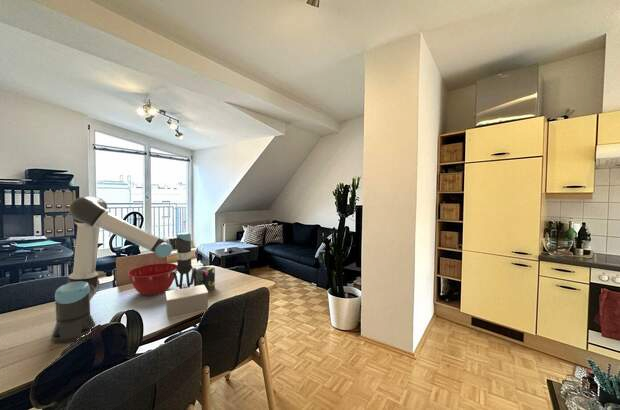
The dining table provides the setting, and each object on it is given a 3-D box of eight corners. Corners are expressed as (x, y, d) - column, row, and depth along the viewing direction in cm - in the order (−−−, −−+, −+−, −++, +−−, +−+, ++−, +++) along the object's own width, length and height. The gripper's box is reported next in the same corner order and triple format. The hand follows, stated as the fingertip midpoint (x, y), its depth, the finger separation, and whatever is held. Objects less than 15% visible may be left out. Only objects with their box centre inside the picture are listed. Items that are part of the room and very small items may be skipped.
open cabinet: (167, 319, 134) (167, 301, 133) (166, 310, 144) (166, 292, 143) (207, 310, 145) (207, 293, 144) (203, 302, 155) (203, 286, 154)
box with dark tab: (167, 310, 133) (166, 299, 133) (164, 296, 149) (164, 286, 148) (208, 301, 145) (208, 291, 144) (202, 289, 160) (202, 280, 160)
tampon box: (206, 294, 166) (205, 272, 166) (193, 292, 168) (193, 271, 167) (215, 287, 177) (215, 267, 176) (203, 286, 179) (203, 266, 178)
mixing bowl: (116, 297, 158) (116, 273, 157) (154, 281, 186) (154, 261, 185) (154, 303, 152) (153, 278, 151) (187, 286, 179) (187, 264, 178)
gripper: (170, 261, 144) (171, 301, 146) (198, 258, 152) (198, 296, 154) (169, 258, 150) (170, 297, 152) (196, 255, 158) (196, 292, 160)
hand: (184, 296), depth 153 cm, fingers closed on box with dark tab, 2 cm apart
